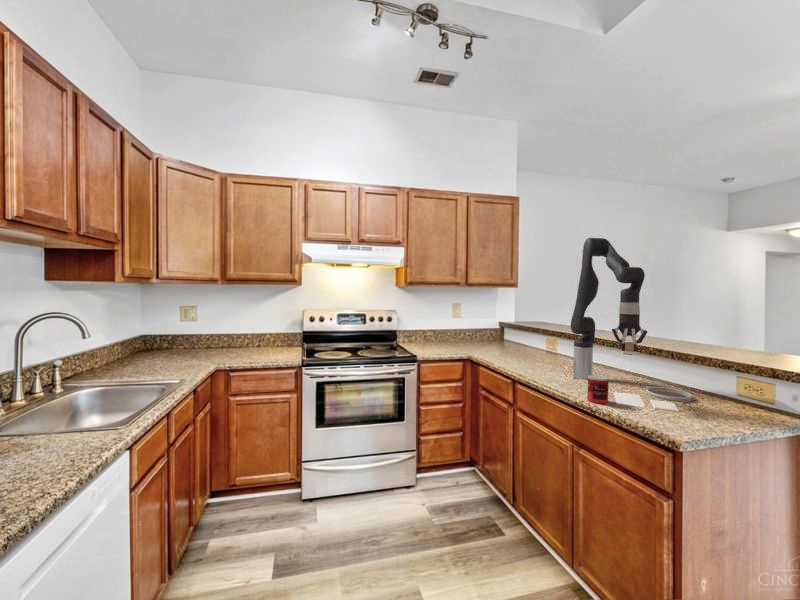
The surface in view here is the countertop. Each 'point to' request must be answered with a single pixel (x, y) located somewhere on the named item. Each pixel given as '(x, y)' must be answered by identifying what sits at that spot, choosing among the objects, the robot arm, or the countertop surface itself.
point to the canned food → (598, 389)
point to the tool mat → (628, 399)
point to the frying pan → (668, 393)
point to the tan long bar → (629, 349)
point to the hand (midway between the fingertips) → (628, 351)
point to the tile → (664, 405)
